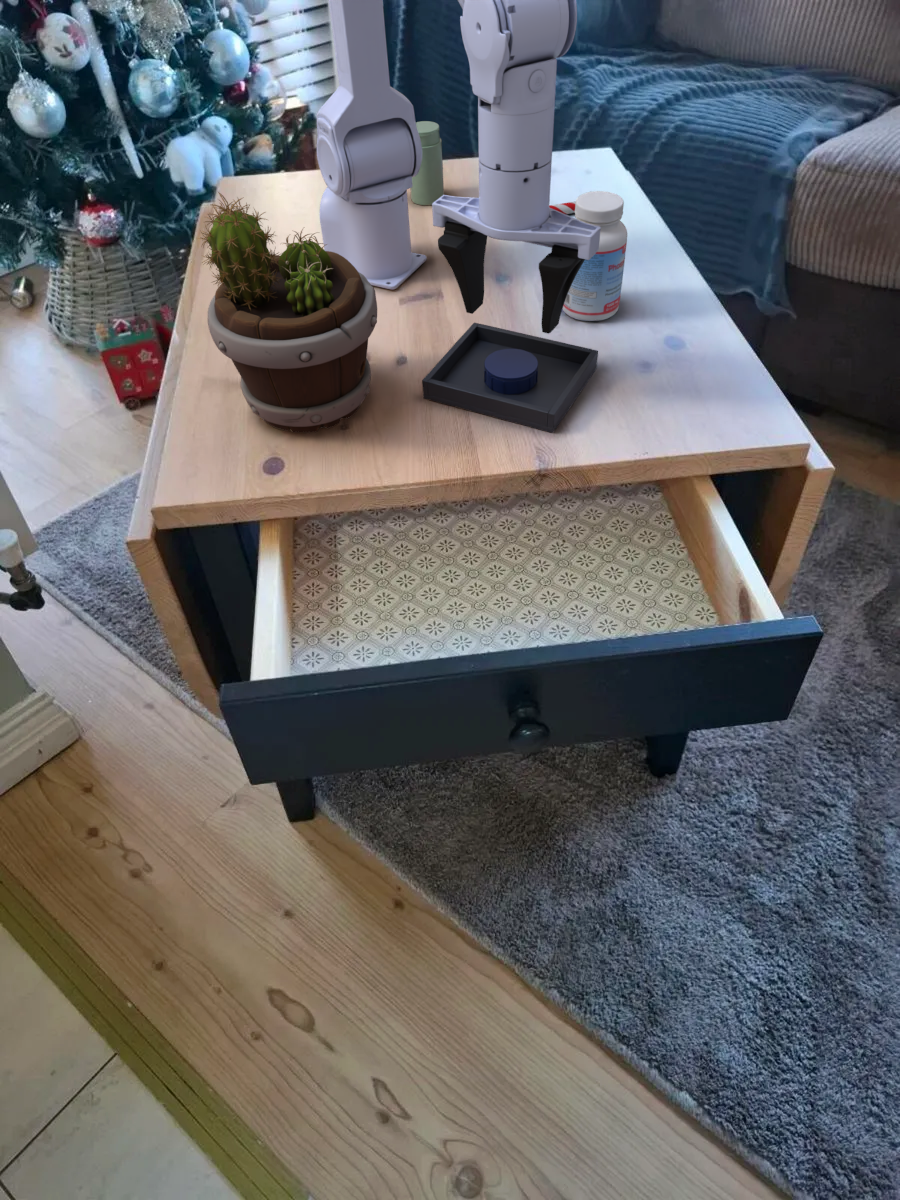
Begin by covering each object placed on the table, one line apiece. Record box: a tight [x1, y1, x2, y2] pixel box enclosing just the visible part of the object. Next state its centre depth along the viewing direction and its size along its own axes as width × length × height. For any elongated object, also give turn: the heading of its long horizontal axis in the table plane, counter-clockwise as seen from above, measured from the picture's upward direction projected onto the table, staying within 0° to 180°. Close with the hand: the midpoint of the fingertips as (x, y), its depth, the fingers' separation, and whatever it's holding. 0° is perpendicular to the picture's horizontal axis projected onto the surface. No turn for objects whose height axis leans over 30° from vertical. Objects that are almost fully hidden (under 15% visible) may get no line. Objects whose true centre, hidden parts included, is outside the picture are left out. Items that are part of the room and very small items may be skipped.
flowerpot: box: [196, 191, 378, 434], centre depth 72 cm, size 14×15×20 cm
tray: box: [421, 322, 599, 433], centre depth 80 cm, size 13×11×2 cm
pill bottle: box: [562, 190, 628, 322], centre depth 85 cm, size 6×6×11 cm
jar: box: [409, 120, 445, 206], centre depth 106 cm, size 4×4×9 cm
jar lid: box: [484, 349, 538, 395], centre depth 79 cm, size 5×5×2 cm
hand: (511, 317), depth 75 cm, fingers open, 7 cm apart
